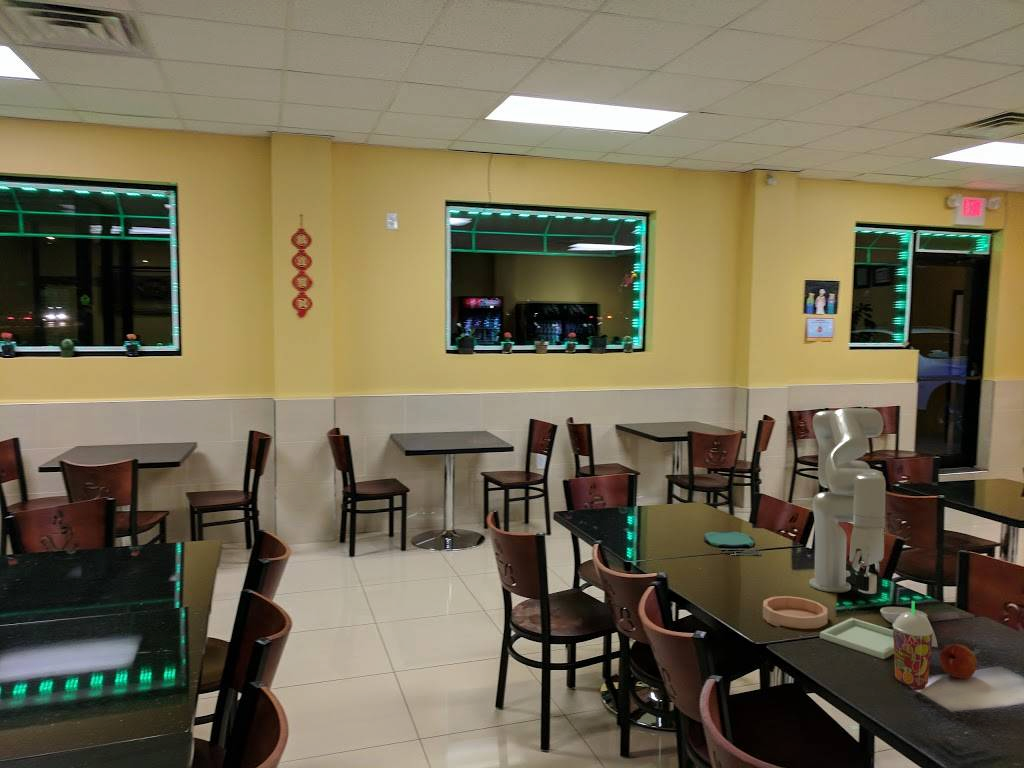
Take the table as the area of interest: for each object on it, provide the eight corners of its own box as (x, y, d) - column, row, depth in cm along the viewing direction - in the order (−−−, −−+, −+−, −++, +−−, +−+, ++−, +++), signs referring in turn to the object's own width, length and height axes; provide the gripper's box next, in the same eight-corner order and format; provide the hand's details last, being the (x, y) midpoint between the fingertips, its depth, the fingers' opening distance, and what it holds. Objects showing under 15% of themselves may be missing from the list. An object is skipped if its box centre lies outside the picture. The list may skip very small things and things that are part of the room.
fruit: (931, 670, 176) (931, 638, 176) (962, 668, 177) (963, 637, 176) (952, 685, 168) (953, 651, 168) (985, 683, 169) (986, 650, 168)
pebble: (863, 586, 195) (863, 570, 194) (879, 591, 191) (879, 575, 191) (854, 590, 192) (855, 574, 192) (871, 594, 189) (871, 578, 188)
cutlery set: (747, 536, 302) (747, 530, 302) (767, 558, 272) (767, 552, 272) (699, 536, 303) (699, 530, 303) (714, 558, 274) (714, 552, 273)
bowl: (784, 605, 221) (784, 592, 221) (838, 622, 207) (839, 608, 207) (751, 618, 210) (751, 604, 210) (806, 637, 196) (806, 622, 196)
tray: (851, 626, 204) (851, 617, 204) (914, 645, 190) (914, 636, 190) (819, 641, 194) (819, 632, 193) (883, 663, 180) (883, 653, 180)
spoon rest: (874, 616, 212) (874, 592, 211) (916, 618, 210) (917, 594, 210) (905, 650, 188) (906, 623, 188) (954, 652, 187) (954, 625, 186)
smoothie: (883, 677, 172) (885, 595, 171) (916, 675, 173) (918, 594, 172) (905, 693, 164) (907, 608, 163) (940, 692, 165) (942, 607, 164)
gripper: (870, 513, 198) (868, 577, 200) (838, 523, 188) (837, 591, 189) (898, 518, 192) (896, 584, 194) (867, 529, 182) (865, 599, 183)
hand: (867, 587), depth 192 cm, fingers closed on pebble, 4 cm apart
